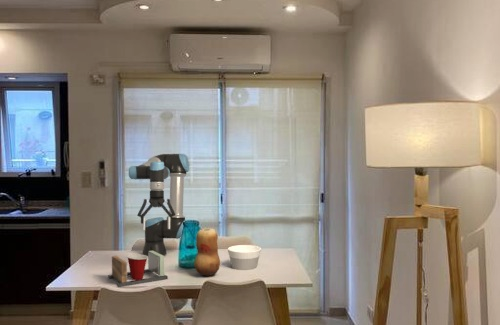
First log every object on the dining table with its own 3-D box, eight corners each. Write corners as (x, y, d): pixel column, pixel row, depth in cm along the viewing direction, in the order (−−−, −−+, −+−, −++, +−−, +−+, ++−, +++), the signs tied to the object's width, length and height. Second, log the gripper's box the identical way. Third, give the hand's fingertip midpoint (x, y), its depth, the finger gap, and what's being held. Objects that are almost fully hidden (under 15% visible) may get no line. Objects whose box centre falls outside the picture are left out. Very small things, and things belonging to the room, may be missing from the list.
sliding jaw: (152, 268, 258) (152, 250, 258) (164, 275, 245) (164, 256, 244) (147, 269, 256) (147, 251, 256) (159, 276, 243) (158, 256, 243)
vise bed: (153, 270, 260) (153, 250, 260) (167, 279, 244) (167, 257, 244) (108, 277, 246) (108, 256, 246) (120, 287, 230) (119, 263, 230)
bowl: (245, 273, 255) (245, 253, 254) (220, 267, 268) (220, 248, 267) (268, 266, 269) (268, 248, 269) (243, 261, 282) (243, 243, 282)
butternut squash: (191, 278, 245) (190, 230, 244) (198, 271, 259) (198, 226, 258) (217, 279, 243) (216, 231, 242) (222, 272, 256) (222, 227, 255)
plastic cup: (149, 280, 242) (148, 257, 241) (127, 282, 238) (127, 258, 238) (147, 274, 252) (147, 252, 252) (126, 276, 249) (126, 254, 248)
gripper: (134, 190, 247) (134, 230, 246) (181, 190, 257) (180, 229, 256) (132, 190, 254) (131, 229, 253) (177, 189, 264) (177, 227, 263)
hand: (156, 229), depth 254 cm, fingers open, 13 cm apart
